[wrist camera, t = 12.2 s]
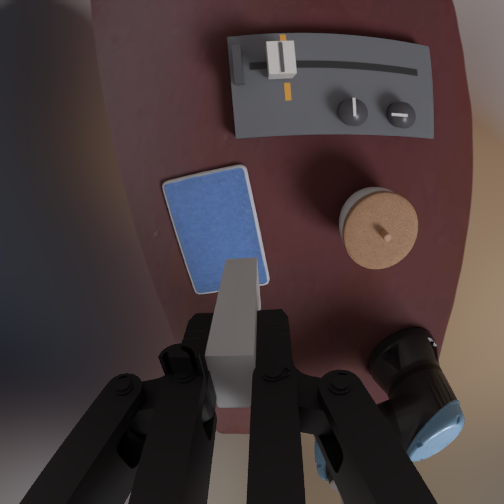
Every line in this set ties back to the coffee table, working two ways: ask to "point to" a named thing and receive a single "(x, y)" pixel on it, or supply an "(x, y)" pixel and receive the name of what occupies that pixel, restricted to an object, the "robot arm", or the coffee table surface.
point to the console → (332, 87)
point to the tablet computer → (215, 223)
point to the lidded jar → (377, 227)
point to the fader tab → (280, 59)
